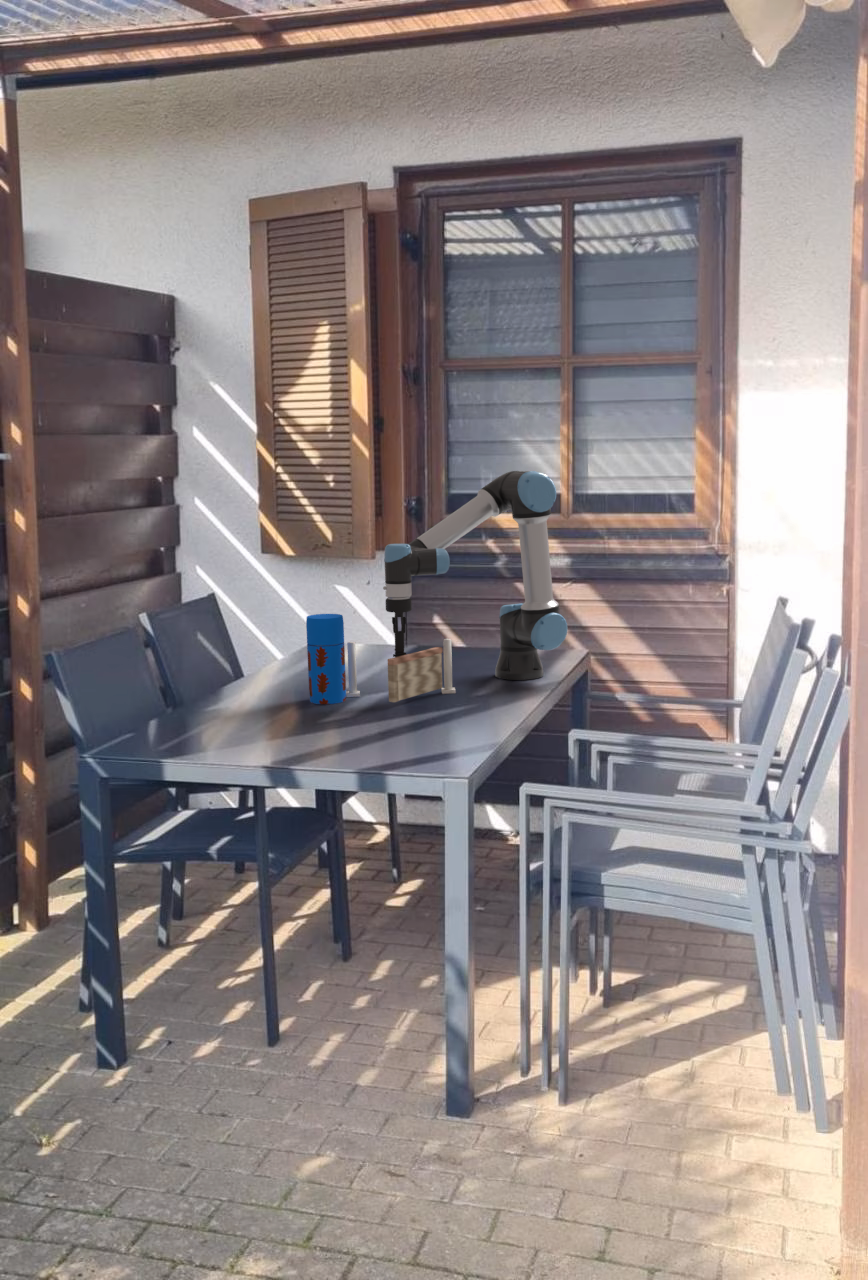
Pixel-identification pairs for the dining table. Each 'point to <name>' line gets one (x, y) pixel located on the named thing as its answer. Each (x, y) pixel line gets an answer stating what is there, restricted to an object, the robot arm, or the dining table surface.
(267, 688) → the dining table surface
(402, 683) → the gate
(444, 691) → the gate posts
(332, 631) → the thermos
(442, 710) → the dining table surface
